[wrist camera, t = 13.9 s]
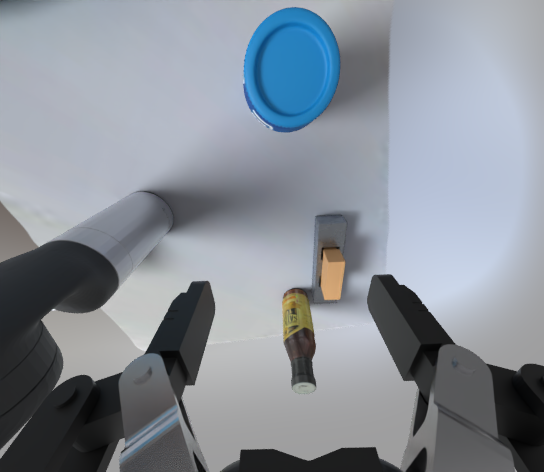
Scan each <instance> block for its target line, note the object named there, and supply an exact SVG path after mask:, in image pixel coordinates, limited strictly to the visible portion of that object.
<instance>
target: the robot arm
mask: <svg viewBox="0 0 544 472" xmlns="http://www.w3.org/2000/svg"><path fill="white" fill-rule="evenodd" d="M172 225H173V214H172V212H171V209H170V208H169V206H168V205H167V204H166V203H165V201H164V200H162V199H161V198H160V197H158V196H156V195H154V194H152V193H148V192H136V193H133V194H131V195H129V196H127V197H126V198H124V199H122V200H120V201H118V202H117V203H115V204H113V205H111V206H110V207H108V208H106V209H104V210H103V211H101V212H99V213H97V214H96V215H94V216H92V217H91V218H89V219H87V220H85V221H84V222H82V223H80V224H78V225H77V226H75V227H73V228H71V229H70V230H68V231H66V232H65V233H63V234H61V235H60V236H58V237H56V238H54V239H53V240H51V241H49V242H47V243H46V244H44V245H42V246H40V247H39V248H37V249H35V250H32V251H30V252H27V253H24V254H21V255H19V256H16V257H14V258H11V259H8V260H6V261H3V262H1V263H0V449H1V448H2V447H3V446H4V445H5V444H6V443H7V442H8V441H9V440H10V439H11V438H12V437H13V436H14V435H15V434H16V433H17V432H18V431H19V430H20V429H21V428H22V426H24V424H25V423H26V422H27V421H28V420H29V419H30V418H31V419H30V420H29V421H28V423H27V424H26V425H25V427H24V428H23V429H22V431H21V432H20V433H19V435H18V436H17V438H16V439H15V440H14V441H13V443H12V444H11V445H10V447H9V448H8V450H7V451H6V452H5V454H4V455H3V456H2V458H1V459H0V472H106V470H107V468H108V465H109V463H110V460H111V458H112V456H113V453H114V451H115V449H116V446H117V444H118V442H119V440H120V439H122V438H125V449H124V450H123V451H122V452H121V455H120V472H209V470H208V467H207V464H206V462H205V459H204V456H203V454H202V452H201V449H200V447H199V444H198V442H197V439H196V436H195V433H194V430H193V427H192V424H191V421H190V418H189V416H188V413H187V410H186V407H185V404H184V401H183V398H182V394H183V391H184V388H185V385H195V381H196V378H197V374H198V371H199V367H200V364H201V360H202V356H203V353H204V350H205V346H206V343H207V339H208V336H209V332H210V329H211V325H212V322H213V318H214V315H215V302H214V298H213V294H212V290H211V286H210V283H209V281H195V282H192V283H191V285H190V287H189V289H188V291H187V293H181V294H180V295H178V296H177V297H176V298H175V299H174V300H173V302H172V303H171V305H170V307H169V309H168V312H167V313H166V315H165V317H164V320H163V321H162V322H161V324H160V326H159V328H158V330H157V332H156V334H155V336H154V338H153V339H152V341H151V343H150V345H149V347H148V349H147V351H146V352H145V354H144V355H142V356H140V357H138V358H137V359H135V360H134V361H132V362H131V363H130V364H129V365H128V366H127V367H126V368H125V370H124V371H123V372H121V373H119V374H116V375H113V376H110V377H107V378H104V379H101V380H98V381H96V382H94V381H93V380H92V378H91V377H89V376H87V375H79V376H75V377H73V378H70V379H69V380H66V381H65V382H63V383H62V384H60V385H59V386H58V387H56V388H55V389H54V387H55V385H56V383H57V382H58V380H59V378H60V375H61V372H62V369H63V357H62V353H61V351H60V349H59V347H58V346H57V344H56V343H55V341H54V339H53V338H52V336H51V335H50V333H49V332H48V330H47V329H46V327H45V325H44V324H43V322H42V321H41V319H42V318H43V317H44V316H45V315H46V314H47V313H49V312H50V311H51V310H52V309H55V310H58V311H63V312H69V313H86V312H91V311H94V310H96V309H98V308H100V307H101V306H103V305H104V304H105V303H106V302H107V301H108V300H109V299H110V297H111V296H112V295H113V294H114V293H115V292H116V290H117V289H118V288H119V287H120V286H121V285H122V284H123V282H124V281H125V280H126V279H127V278H128V277H129V276H130V274H131V273H132V272H133V271H134V270H135V269H136V268H137V266H138V265H139V264H140V263H141V262H142V261H143V260H144V258H145V257H146V256H147V255H148V254H149V253H150V252H151V251H152V249H153V248H154V247H155V246H156V245H157V244H158V243H159V241H160V240H161V239H162V238H163V237H164V236H165V235H166V234H167V232H168V231H169V230H170V229H171V227H172ZM367 304H368V308H369V311H370V313H371V315H372V317H373V319H374V321H375V323H376V325H377V327H378V329H379V331H380V333H381V335H382V338H383V340H384V342H385V344H386V346H387V348H388V350H389V352H390V354H391V356H392V358H393V360H394V362H395V364H396V366H397V368H398V370H399V372H400V374H401V376H402V378H403V380H404V381H415V382H416V384H417V386H418V389H417V392H416V398H415V404H414V410H413V416H412V422H411V428H410V434H409V439H408V444H407V446H406V449H405V452H404V456H403V459H402V463H401V468H400V469H399V468H397V467H395V466H394V465H392V464H390V463H388V462H386V461H384V460H382V459H379V457H378V454H377V451H376V448H375V447H368V448H341V449H338V450H336V451H334V452H331V453H329V454H326V455H324V456H321V457H319V458H316V459H314V460H311V461H307V460H303V459H300V458H298V457H294V456H292V455H289V454H286V453H283V452H280V451H277V450H274V449H260V450H259V449H257V450H256V449H255V450H241V453H240V460H238V461H236V462H234V463H232V464H230V465H229V466H227V467H226V468H224V469H223V470H222V471H220V472H515V469H516V470H517V472H544V366H541V365H537V364H525V365H524V366H522V367H521V368H520V369H519V370H518V372H517V371H513V370H509V369H505V368H501V367H497V366H493V365H489V364H486V363H485V362H484V361H483V360H482V359H481V358H480V357H479V356H477V355H476V354H474V353H473V352H471V351H470V350H468V349H466V348H463V347H461V346H458V345H456V344H455V343H454V342H453V340H452V339H451V338H450V337H449V336H448V334H447V333H446V332H445V330H444V329H443V328H442V327H441V325H440V324H439V323H438V322H437V321H436V319H435V318H434V316H433V315H432V314H431V313H430V312H429V311H428V309H427V308H426V306H425V305H424V304H422V302H421V300H420V299H419V298H418V296H417V295H416V294H415V293H414V292H413V291H412V290H410V289H409V288H407V287H406V286H405V285H399V284H398V282H397V281H396V280H395V278H394V277H393V276H392V275H389V274H387V275H374V276H373V277H372V280H371V285H370V289H369V293H368V298H367ZM53 389H54V390H53ZM52 390H53V391H52ZM514 467H515V469H514Z"/></svg>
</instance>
